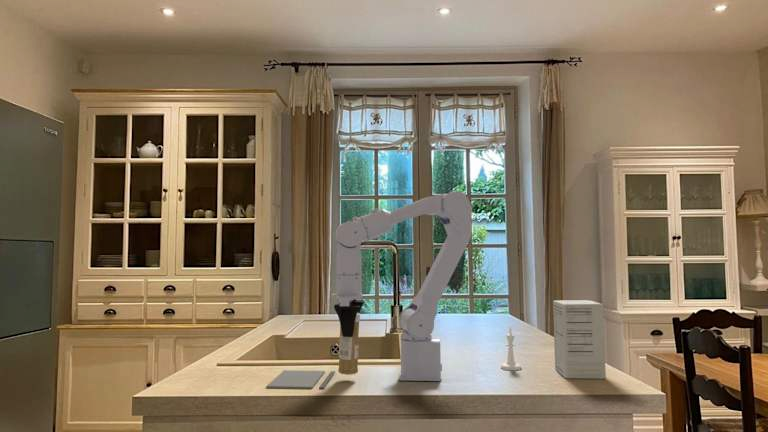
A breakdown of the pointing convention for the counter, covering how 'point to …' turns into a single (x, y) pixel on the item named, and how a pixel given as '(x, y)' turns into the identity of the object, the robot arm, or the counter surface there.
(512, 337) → the chess piece
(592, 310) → the supplement box
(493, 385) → the counter surface
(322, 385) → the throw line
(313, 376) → the mat
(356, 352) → the sprinkles bottle
